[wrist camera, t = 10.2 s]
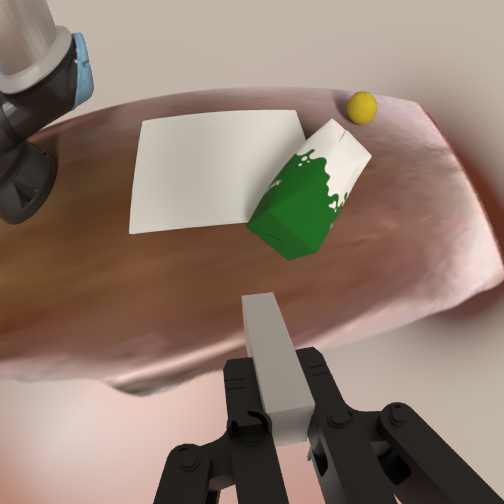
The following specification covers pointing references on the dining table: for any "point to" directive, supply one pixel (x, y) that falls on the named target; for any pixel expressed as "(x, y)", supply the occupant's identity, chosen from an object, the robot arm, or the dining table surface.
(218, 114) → the mat
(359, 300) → the dining table surface
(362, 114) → the lemon
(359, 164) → the soya milk
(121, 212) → the dining table surface
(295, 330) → the dining table surface
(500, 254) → the dining table surface
